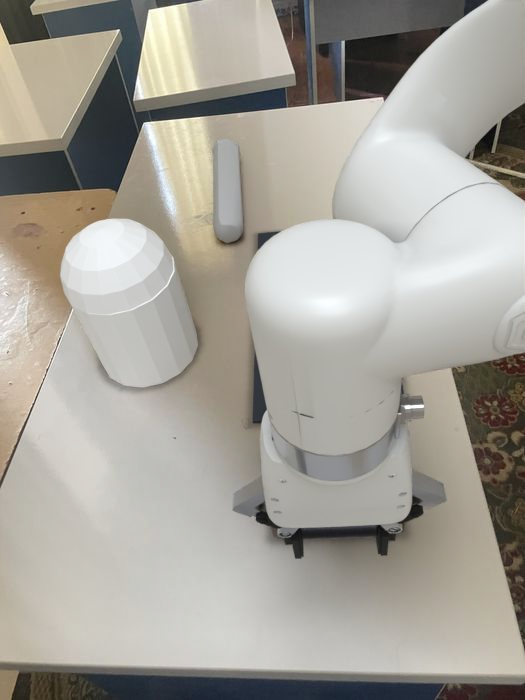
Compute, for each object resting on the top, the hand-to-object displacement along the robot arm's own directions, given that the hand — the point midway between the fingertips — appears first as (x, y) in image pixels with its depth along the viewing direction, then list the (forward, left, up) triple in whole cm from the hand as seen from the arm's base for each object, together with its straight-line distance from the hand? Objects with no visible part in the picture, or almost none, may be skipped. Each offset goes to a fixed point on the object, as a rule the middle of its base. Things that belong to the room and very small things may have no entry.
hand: (339, 538), depth 47 cm
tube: (+50, -44, -10) cm, 67 cm away
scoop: (+5, -7, -3) cm, 9 cm away
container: (+38, -12, -10) cm, 41 cm away
